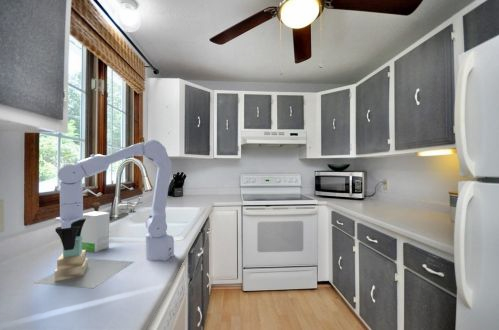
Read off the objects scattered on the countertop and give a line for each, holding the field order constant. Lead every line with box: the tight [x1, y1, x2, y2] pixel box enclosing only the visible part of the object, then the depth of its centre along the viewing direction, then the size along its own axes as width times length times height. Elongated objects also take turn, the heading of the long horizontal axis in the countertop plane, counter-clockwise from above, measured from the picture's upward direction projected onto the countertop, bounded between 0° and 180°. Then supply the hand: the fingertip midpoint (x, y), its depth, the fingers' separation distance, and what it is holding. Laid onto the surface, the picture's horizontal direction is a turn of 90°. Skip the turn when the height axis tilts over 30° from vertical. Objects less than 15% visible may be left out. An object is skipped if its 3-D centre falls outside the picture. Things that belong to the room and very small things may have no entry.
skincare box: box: [80, 210, 111, 253], centre depth 92 cm, size 8×7×16 cm
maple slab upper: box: [56, 250, 87, 270], centre depth 70 cm, size 6×6×3 cm
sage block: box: [62, 235, 82, 258], centre depth 70 cm, size 4×4×5 cm
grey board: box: [33, 258, 135, 289], centre depth 71 cm, size 20×17×1 cm
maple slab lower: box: [54, 257, 89, 281], centre depth 70 cm, size 7×7×3 cm
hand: (72, 245), depth 70 cm, fingers open, 7 cm apart
